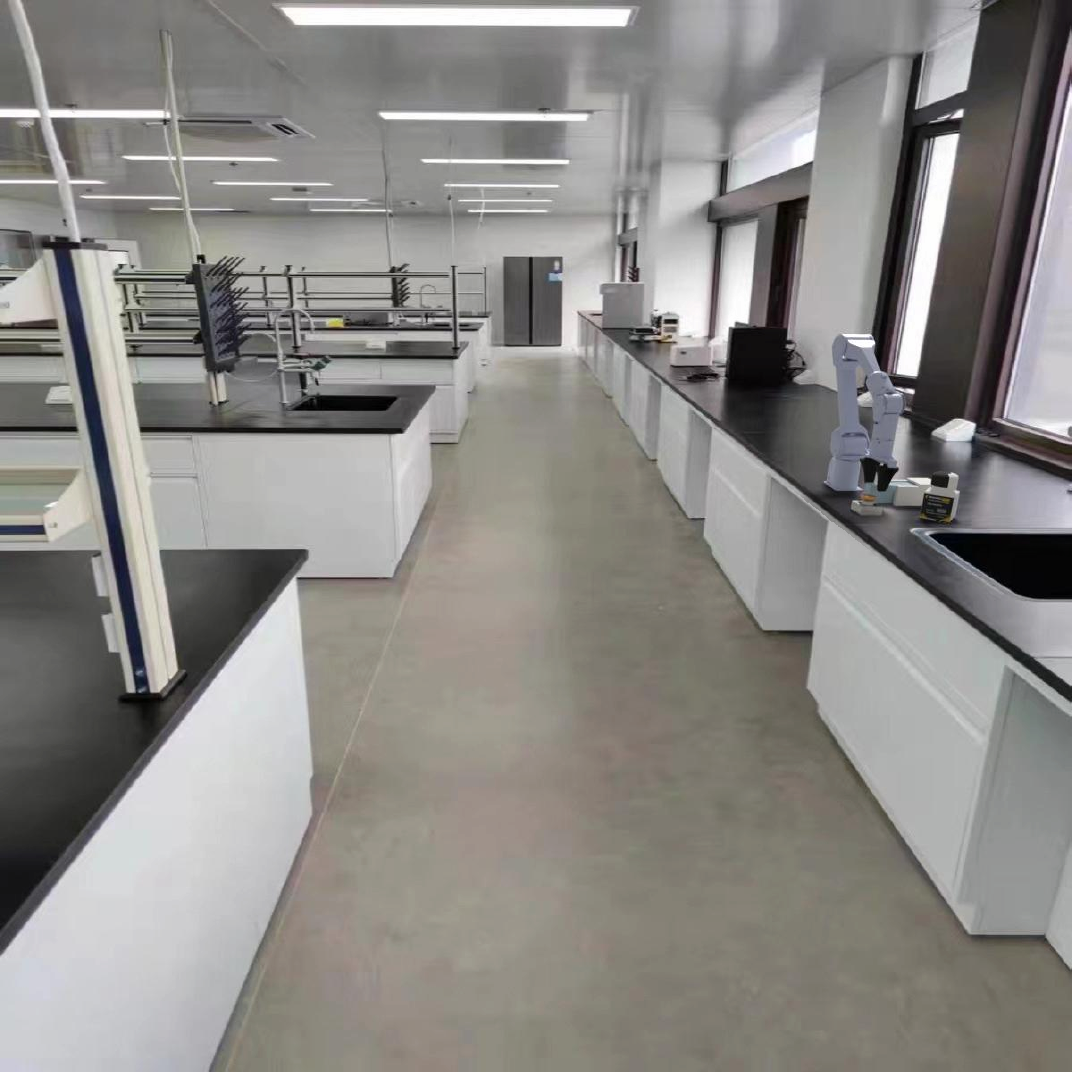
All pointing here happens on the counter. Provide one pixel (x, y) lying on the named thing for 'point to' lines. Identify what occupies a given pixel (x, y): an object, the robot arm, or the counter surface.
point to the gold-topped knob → (868, 499)
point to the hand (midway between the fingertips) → (875, 487)
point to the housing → (910, 492)
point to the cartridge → (885, 496)
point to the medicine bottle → (941, 497)
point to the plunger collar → (866, 508)
